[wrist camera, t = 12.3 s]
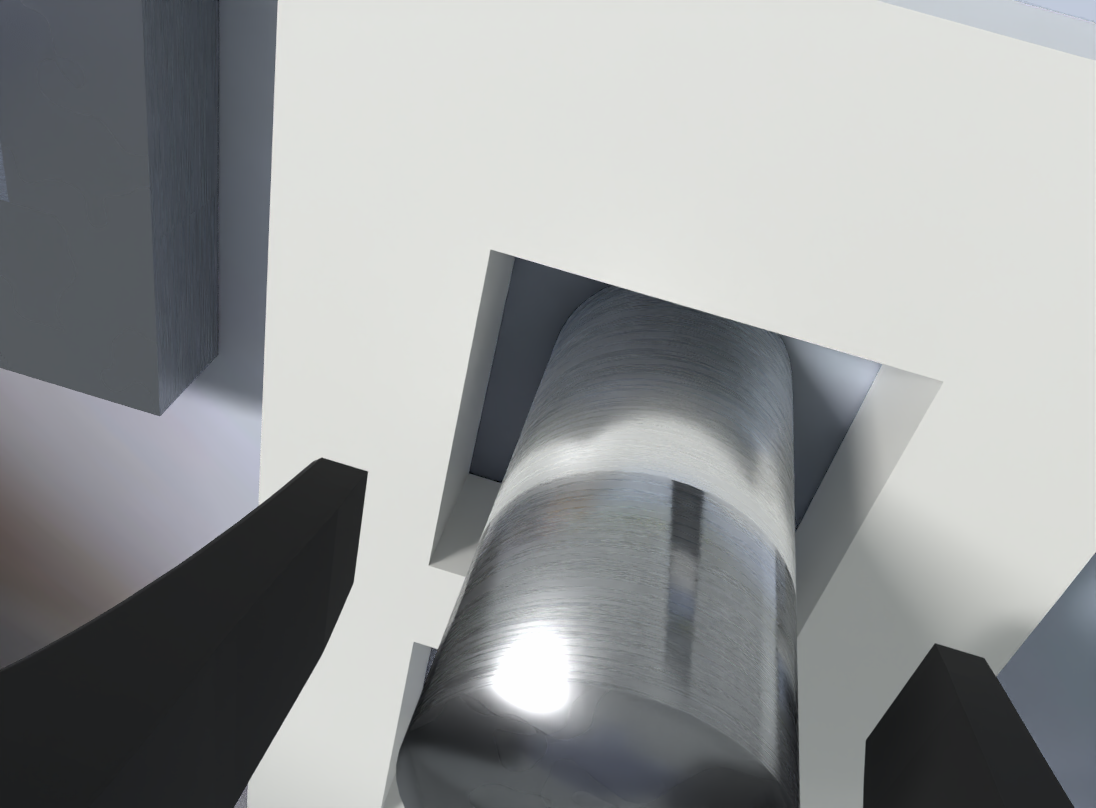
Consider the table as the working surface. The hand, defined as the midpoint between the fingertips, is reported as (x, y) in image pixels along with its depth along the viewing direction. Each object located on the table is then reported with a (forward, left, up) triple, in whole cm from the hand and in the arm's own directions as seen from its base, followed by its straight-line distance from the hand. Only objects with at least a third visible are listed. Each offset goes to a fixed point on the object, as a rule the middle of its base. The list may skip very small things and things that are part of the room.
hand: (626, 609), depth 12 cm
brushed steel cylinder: (0, 0, -5) cm, 5 cm away
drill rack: (-4, 0, -5) cm, 6 cm away
